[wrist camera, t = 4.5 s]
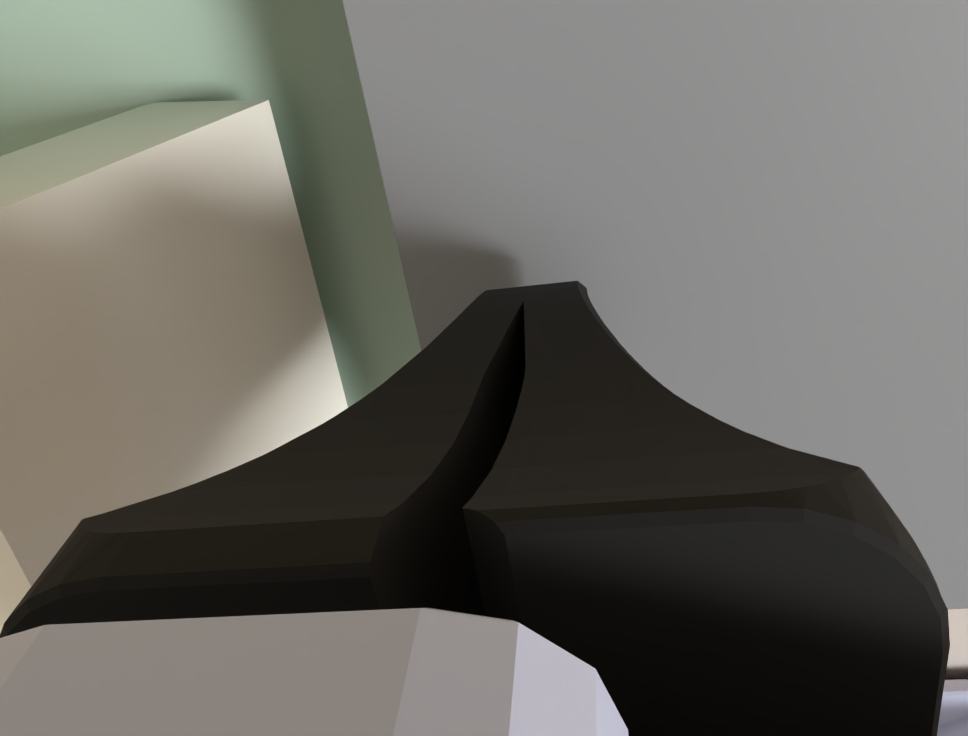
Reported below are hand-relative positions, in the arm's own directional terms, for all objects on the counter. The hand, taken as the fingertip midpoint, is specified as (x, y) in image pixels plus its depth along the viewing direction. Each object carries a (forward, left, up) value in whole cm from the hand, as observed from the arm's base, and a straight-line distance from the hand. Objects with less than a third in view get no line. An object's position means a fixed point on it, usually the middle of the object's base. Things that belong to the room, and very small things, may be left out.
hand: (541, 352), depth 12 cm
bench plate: (0, -3, -4) cm, 5 cm away
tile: (0, +5, 0) cm, 5 cm away
